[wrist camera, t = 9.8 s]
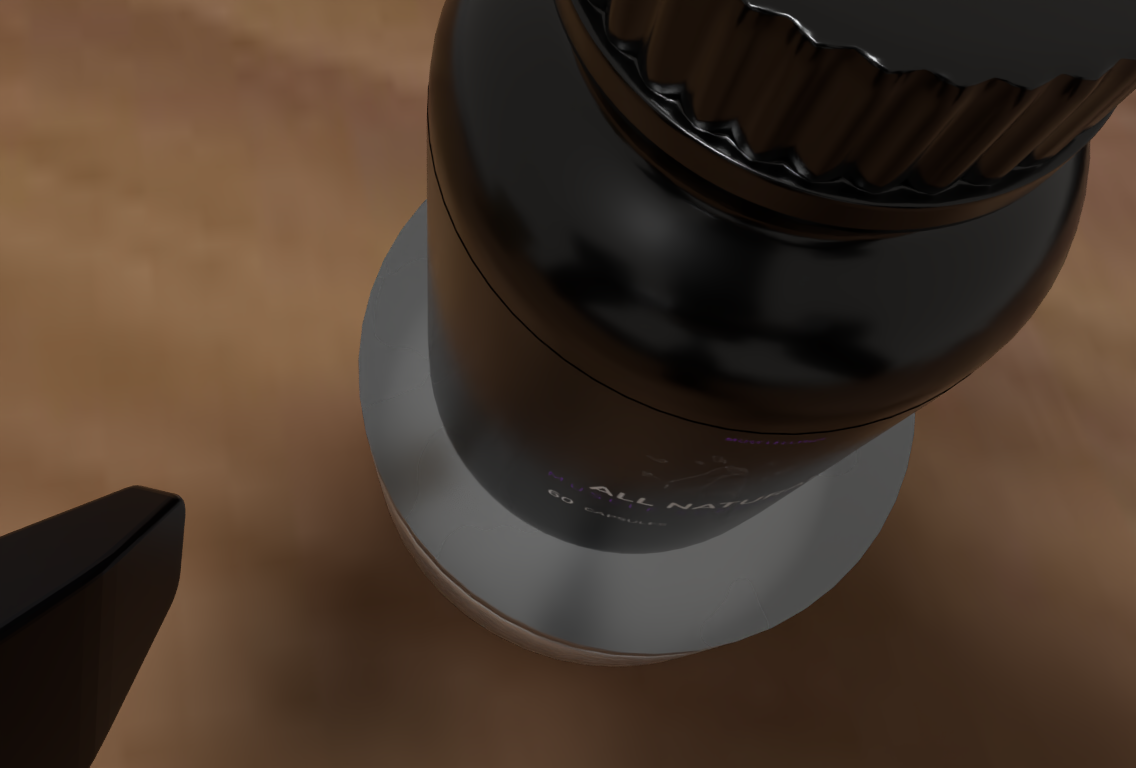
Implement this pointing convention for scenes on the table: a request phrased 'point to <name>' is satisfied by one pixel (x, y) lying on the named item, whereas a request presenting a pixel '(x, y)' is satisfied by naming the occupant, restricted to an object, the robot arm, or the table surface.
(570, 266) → the supplement bottle
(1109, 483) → the table surface
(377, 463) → the grey short cylinder
